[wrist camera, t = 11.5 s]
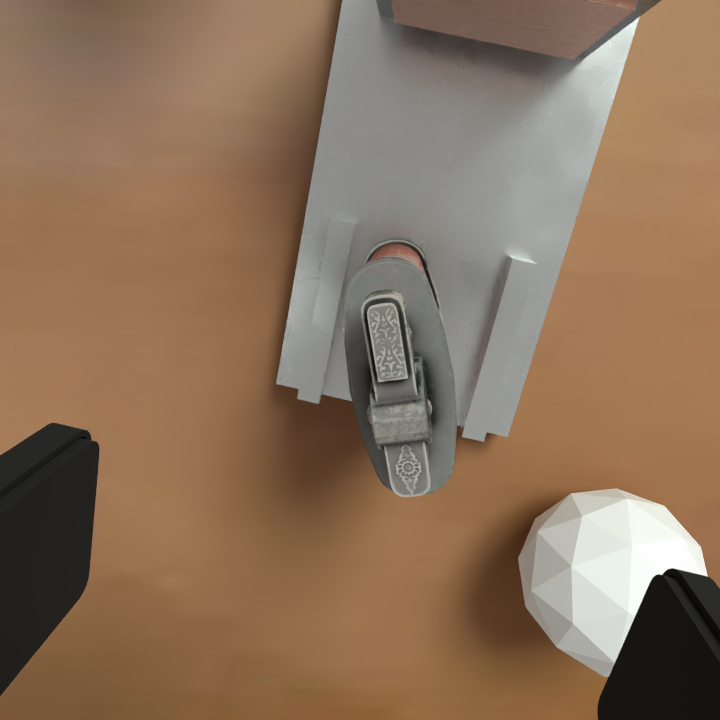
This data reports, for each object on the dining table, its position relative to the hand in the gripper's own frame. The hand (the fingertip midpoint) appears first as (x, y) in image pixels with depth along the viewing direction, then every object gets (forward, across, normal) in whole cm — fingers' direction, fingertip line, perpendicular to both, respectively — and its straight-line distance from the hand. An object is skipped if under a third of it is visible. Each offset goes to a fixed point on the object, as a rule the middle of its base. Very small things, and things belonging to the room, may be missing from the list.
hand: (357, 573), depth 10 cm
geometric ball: (+19, -12, +8) cm, 24 cm away
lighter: (+17, -1, 0) cm, 17 cm away
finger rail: (+18, -1, -6) cm, 19 cm away
